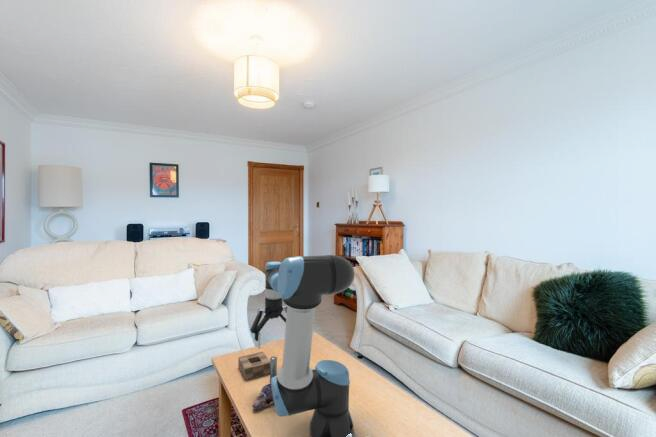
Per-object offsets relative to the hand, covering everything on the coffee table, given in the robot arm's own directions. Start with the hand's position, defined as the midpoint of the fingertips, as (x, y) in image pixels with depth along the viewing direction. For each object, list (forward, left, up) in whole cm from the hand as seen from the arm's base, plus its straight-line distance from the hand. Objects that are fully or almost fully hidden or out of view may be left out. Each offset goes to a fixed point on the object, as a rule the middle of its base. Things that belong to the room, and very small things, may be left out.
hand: (273, 344), depth 135 cm
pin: (0, 0, -16) cm, 16 cm away
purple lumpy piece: (-13, +8, -17) cm, 23 cm away
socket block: (+12, +5, -16) cm, 21 cm away
